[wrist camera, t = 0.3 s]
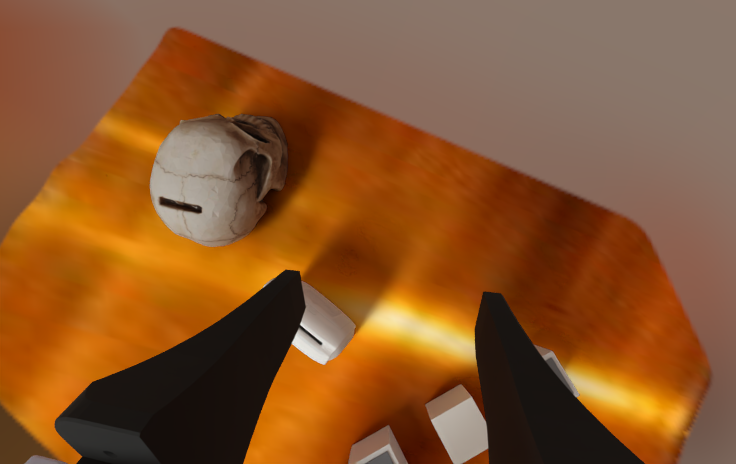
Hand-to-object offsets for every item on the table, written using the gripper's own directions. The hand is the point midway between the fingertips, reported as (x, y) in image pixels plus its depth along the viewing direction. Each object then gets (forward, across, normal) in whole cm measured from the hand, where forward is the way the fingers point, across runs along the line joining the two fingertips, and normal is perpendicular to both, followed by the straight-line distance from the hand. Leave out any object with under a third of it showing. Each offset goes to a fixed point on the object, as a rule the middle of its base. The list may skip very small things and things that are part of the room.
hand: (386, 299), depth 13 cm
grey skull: (+29, +24, +9) cm, 39 cm away
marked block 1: (+8, +2, +34) cm, 35 cm away
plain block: (+13, -6, +30) cm, 34 cm away
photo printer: (+18, +11, +22) cm, 31 cm away
